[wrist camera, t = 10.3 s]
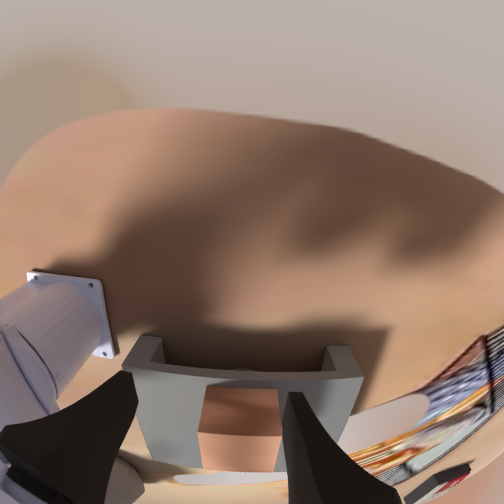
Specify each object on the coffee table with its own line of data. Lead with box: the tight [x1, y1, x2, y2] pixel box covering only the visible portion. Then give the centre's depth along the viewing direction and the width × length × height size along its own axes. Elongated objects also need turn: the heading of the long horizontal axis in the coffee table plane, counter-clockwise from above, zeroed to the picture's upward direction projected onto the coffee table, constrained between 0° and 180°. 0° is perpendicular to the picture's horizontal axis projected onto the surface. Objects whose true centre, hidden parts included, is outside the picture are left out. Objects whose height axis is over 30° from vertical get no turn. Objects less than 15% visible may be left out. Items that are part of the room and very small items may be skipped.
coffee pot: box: [104, 457, 145, 504], centre depth 21 cm, size 21×12×15 cm, turn 159°
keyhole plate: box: [122, 335, 364, 472], centre depth 22 cm, size 18×14×4 cm
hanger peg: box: [197, 368, 282, 472], centre depth 18 cm, size 5×5×8 cm
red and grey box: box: [404, 463, 471, 504], centre depth 33 cm, size 11×4×15 cm
